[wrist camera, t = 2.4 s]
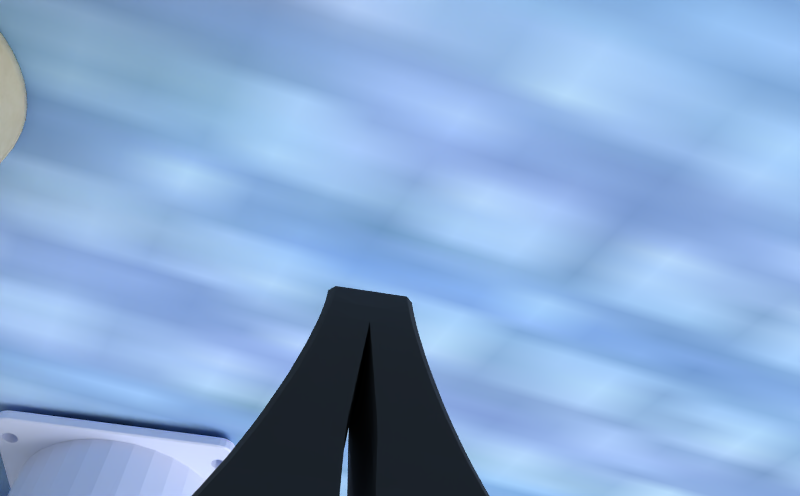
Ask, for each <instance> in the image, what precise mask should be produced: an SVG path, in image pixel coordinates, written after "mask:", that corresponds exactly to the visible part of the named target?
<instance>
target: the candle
mask: <svg viewBox="0 0 800 496" xmlns="http://www.w3.org/2000/svg"><path fill="white" fill-rule="evenodd" d="M26 112H27V94H26V88H25V83H24V79H23V76H22V73H21V70H20V67H19V64H18V62H17V60H16V58H15V56H14V54H13V51H12V50H11V48H10V46H9V45H8V43H7V41H6V40H5V38H4V37H3V35H2V34H1V33H0V163H1V162H2V161H3V160H4V159H5V157H6V156H7V155H8V154H9V152H10V151H11V150H12V149H13V147H14V145H15V144H16V142H17V140H18V138H19V136H20V134H21V132H22V130H23V126H24V123H25V120H26Z"/></svg>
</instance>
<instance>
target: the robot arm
mask: <svg viewBox="0 0 800 496" xmlns="http://www.w3.org/2000/svg"><path fill="white" fill-rule="evenodd" d="M348 428H349V440H348V490H347V496H489V495H488V493H487V491H486V489H485V488H484V486H483V484H482V482H481V480H480V479H479V477H478V475H477V473H476V471H475V470H474V468H473V466H472V464H471V462H470V460H469V458H468V456H467V454H466V452H465V450H464V448H463V446H462V444H461V442H460V440H459V438H458V436H457V433H456V431H455V429H454V427H453V425H452V423H451V420H450V418H449V416H448V414H447V411H446V409H445V407H444V404H443V402H442V399H441V397H440V394H439V391H438V389H437V386H436V384H435V381H434V379H433V376H432V373H431V371H430V368H429V365H428V362H427V359H426V356H425V353H424V350H423V347H422V343H421V340H420V337H419V333H418V330H417V326H416V322H415V317H414V313H413V307H412V302H411V301H410V300H409V299H408V298H407V297H405V296H399V295H392V294H385V293H379V292H372V291H365V290H358V289H352V288H345V287H338V286H335V287H333V288H332V289H330V290H328V294H327V298H326V301H325V304H324V307H323V309H322V312H321V314H320V317H319V319H318V321H317V323H316V325H315V327H314V329H313V331H312V333H311V335H310V337H309V339H308V341H307V343H306V344H305V346H304V348H303V350H302V351H301V353H300V355H299V356H298V358H297V360H296V361H295V363H294V365H293V367H292V368H291V370H290V372H289V373H288V375H287V376H286V378H285V379H284V381H283V382H282V384H281V385H280V387H279V388H278V390H277V391H276V392H275V394H274V395H273V397H272V398H271V400H270V401H269V403H268V404H267V405H266V407H265V408H264V410H263V411H262V413H261V414H260V415H259V417H258V418H257V419H256V421H255V422H254V423H253V425H252V426H251V427H250V429H249V430H248V431H247V432H246V434H245V435H244V436H243V437H242V439H241V440H240V441H239V442H238V444H237V445H236V446H235V445H234V444H233V443H232V442H231V441H229V440H228V439H225V438H220V437H212V436H204V435H197V434H189V433H181V432H174V431H166V430H158V429H150V428H143V427H135V426H127V425H120V424H112V423H104V422H96V421H89V420H81V419H73V418H65V417H58V416H50V415H42V414H35V413H27V412H19V411H11V410H5V411H1V412H0V453H1V456H2V460H3V463H4V467H5V471H6V474H7V478H8V481H9V485H10V488H11V490H10V492H9V494H8V496H339V494H340V483H341V473H342V462H343V452H344V447H345V442H346V438H347V433H348Z"/></svg>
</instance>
